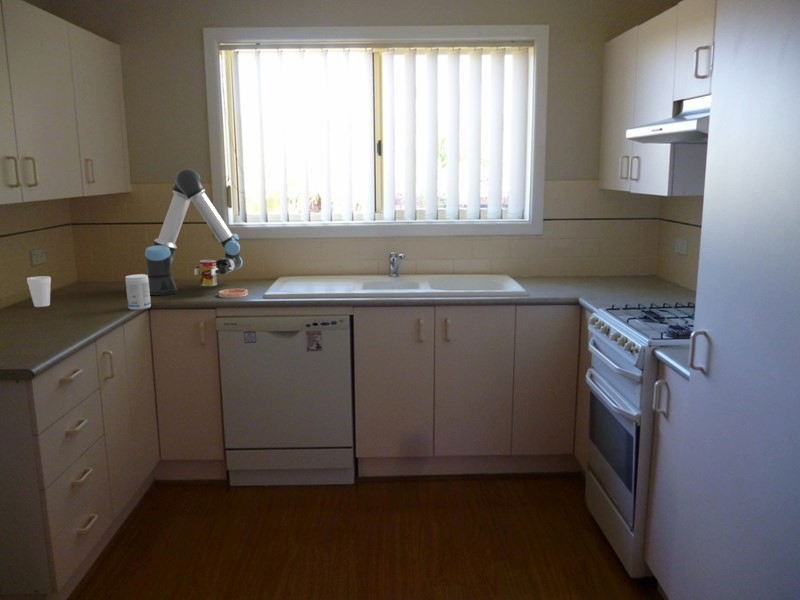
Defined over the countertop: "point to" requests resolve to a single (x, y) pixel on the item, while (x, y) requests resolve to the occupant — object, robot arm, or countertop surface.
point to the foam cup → (40, 290)
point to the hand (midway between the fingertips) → (203, 272)
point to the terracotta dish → (233, 293)
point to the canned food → (207, 273)
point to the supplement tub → (138, 292)
